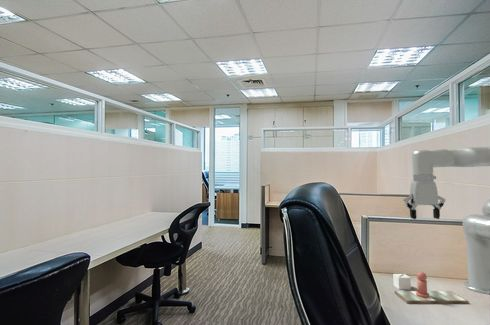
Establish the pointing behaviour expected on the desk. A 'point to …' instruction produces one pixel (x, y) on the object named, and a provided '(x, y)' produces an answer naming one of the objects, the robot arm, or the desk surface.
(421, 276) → the pawn
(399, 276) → the die
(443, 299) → the board
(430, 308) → the desk surface
